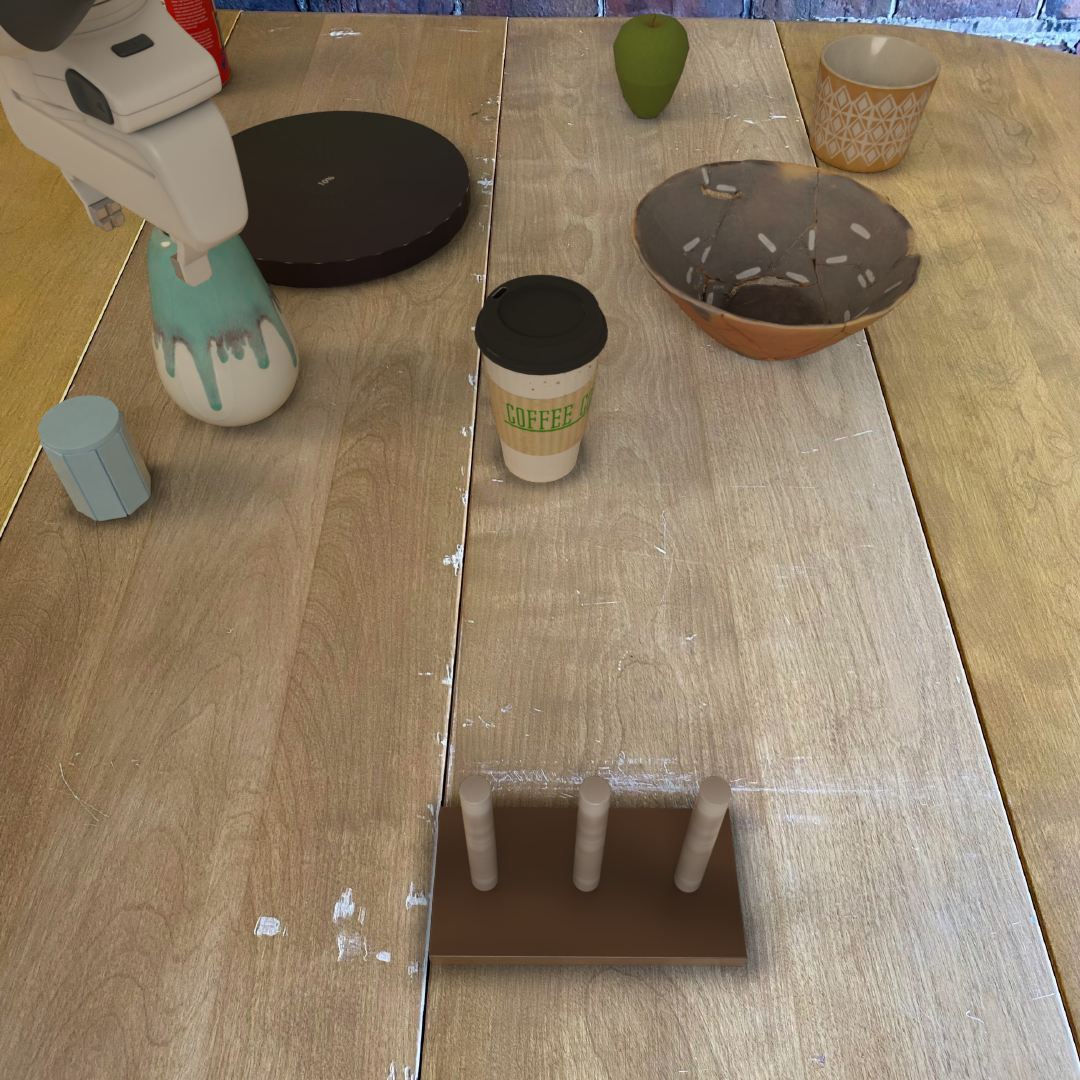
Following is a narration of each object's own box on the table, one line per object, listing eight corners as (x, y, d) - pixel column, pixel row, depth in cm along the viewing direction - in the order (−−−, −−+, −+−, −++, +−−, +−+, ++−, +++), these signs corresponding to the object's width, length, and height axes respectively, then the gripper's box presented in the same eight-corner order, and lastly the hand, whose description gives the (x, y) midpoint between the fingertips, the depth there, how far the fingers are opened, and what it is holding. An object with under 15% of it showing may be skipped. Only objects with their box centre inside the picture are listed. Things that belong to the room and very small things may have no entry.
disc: (294, 112, 119) (289, 87, 117) (517, 169, 111) (516, 143, 109) (129, 242, 102) (119, 216, 100) (379, 321, 94) (375, 295, 92)
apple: (673, 94, 123) (683, -5, 114) (688, 128, 117) (701, 27, 108) (604, 98, 122) (609, -1, 113) (616, 133, 116) (623, 32, 108)
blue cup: (74, 526, 78) (34, 454, 72) (78, 473, 81) (40, 401, 75) (150, 512, 79) (117, 441, 73) (151, 461, 82) (119, 389, 76)
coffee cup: (558, 517, 79) (562, 372, 67) (458, 467, 82) (445, 322, 70) (620, 443, 84) (634, 297, 72) (524, 400, 87) (522, 254, 76)
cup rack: (743, 966, 57) (789, 880, 46) (430, 964, 57) (406, 877, 47) (725, 818, 63) (763, 711, 52) (441, 816, 63) (422, 709, 52)
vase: (176, 456, 83) (104, 276, 69) (171, 367, 90) (104, 188, 76) (315, 430, 85) (272, 251, 71) (299, 346, 92) (257, 167, 78)
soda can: (162, 99, 121) (122, -33, 110) (176, 69, 126) (140, -61, 115) (226, 99, 121) (193, -34, 110) (238, 69, 126) (208, -61, 115)
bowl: (593, 267, 100) (598, 176, 92) (819, 232, 104) (842, 142, 96) (677, 438, 84) (691, 346, 77) (939, 389, 88) (977, 297, 80)
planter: (816, 114, 119) (836, 24, 111) (922, 137, 116) (950, 46, 108) (787, 165, 112) (807, 72, 104) (899, 190, 109) (928, 97, 101)
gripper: (-73, 2, 58) (22, 214, 68) (137, 115, 49) (208, 336, 60) (25, -31, 61) (101, 177, 71) (237, 70, 52) (288, 288, 63)
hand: (151, 251), depth 66 cm, fingers open, 8 cm apart
